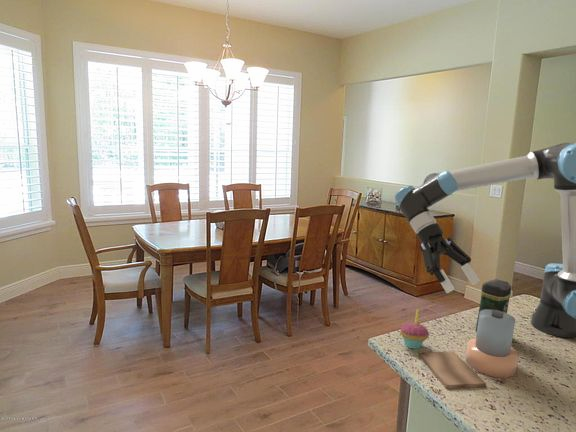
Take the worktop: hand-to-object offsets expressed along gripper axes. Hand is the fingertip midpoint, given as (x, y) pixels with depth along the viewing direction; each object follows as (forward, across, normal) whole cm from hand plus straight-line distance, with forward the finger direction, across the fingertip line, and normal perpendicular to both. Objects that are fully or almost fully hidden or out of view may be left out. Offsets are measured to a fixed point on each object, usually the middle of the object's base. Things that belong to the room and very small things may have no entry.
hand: (464, 287), depth 120 cm
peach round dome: (+22, 0, -7) cm, 23 cm away
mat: (+18, +13, -10) cm, 25 cm away
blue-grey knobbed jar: (+18, 0, -3) cm, 18 cm away
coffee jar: (+15, -19, -14) cm, 28 cm away
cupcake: (+8, +10, -20) cm, 24 cm away
